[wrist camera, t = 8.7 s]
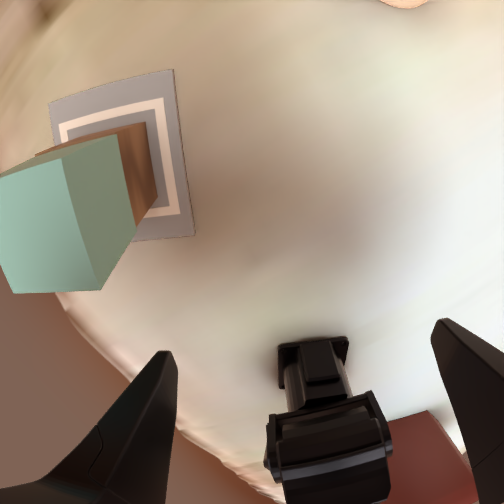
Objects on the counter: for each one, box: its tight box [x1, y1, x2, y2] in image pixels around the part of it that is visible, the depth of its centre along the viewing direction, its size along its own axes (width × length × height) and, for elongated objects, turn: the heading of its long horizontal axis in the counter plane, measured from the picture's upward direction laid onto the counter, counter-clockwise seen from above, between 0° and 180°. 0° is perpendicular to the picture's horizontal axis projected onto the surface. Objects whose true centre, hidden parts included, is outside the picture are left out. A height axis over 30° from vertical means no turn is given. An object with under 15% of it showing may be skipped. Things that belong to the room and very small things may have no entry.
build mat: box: [48, 69, 195, 242], centre depth 18 cm, size 11×9×1 cm
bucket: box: [381, 410, 479, 504], centre depth 30 cm, size 24×22×25 cm
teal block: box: [0, 134, 137, 293], centre depth 11 cm, size 5×5×5 cm
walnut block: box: [35, 121, 158, 227], centre depth 16 cm, size 5×5×5 cm
